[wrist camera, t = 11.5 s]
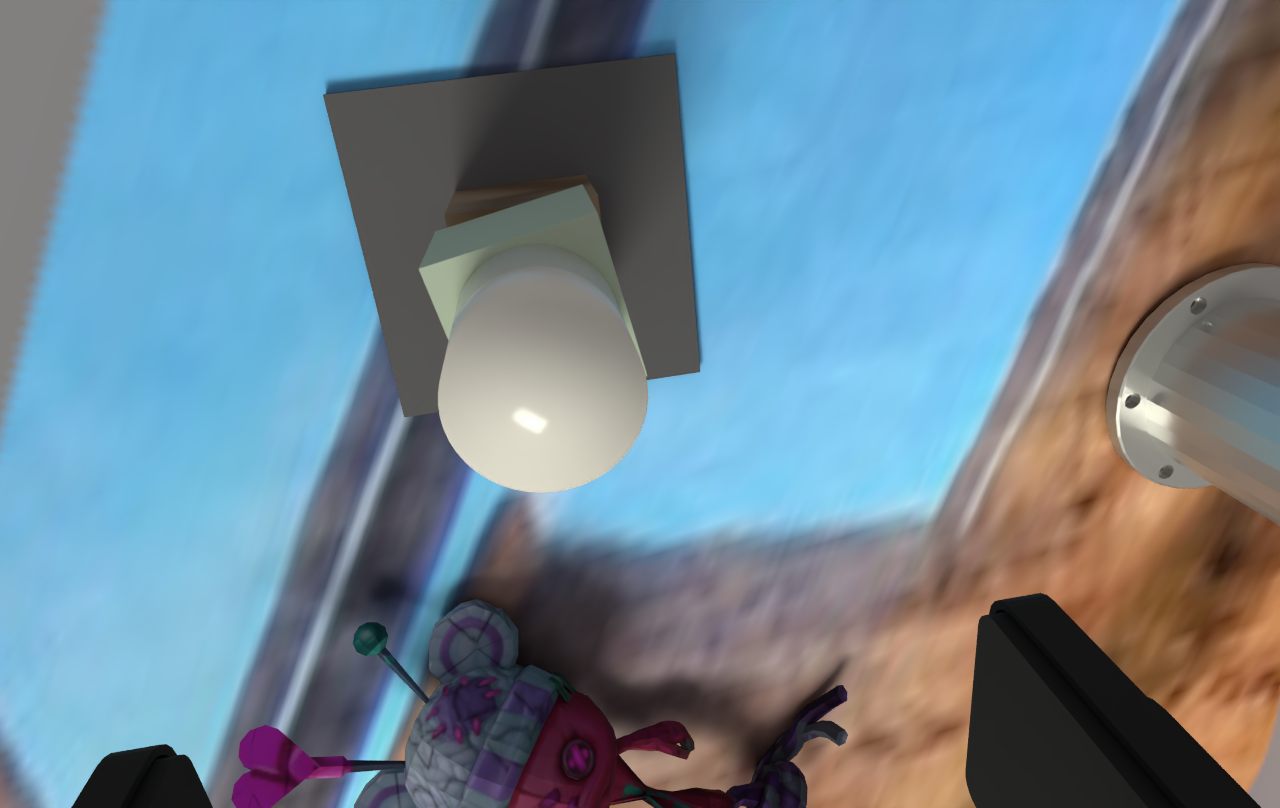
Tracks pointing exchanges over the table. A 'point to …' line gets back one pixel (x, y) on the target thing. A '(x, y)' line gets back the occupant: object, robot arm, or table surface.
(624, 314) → the block top
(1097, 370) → the table surface
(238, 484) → the table surface
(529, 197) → the block bottom
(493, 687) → the toy
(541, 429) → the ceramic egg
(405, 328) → the mat
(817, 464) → the table surface
